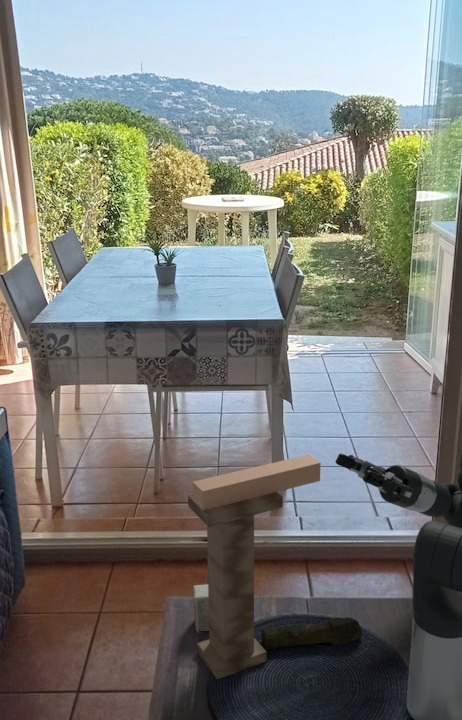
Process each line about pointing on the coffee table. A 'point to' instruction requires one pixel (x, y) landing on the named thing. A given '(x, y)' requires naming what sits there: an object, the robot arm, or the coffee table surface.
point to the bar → (255, 482)
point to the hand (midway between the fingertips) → (351, 466)
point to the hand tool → (312, 634)
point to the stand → (232, 584)
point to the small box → (201, 607)
